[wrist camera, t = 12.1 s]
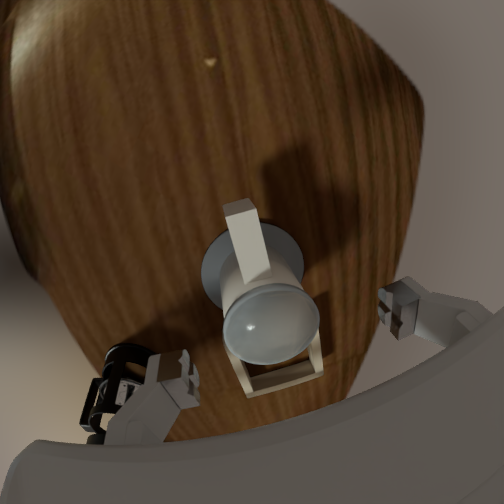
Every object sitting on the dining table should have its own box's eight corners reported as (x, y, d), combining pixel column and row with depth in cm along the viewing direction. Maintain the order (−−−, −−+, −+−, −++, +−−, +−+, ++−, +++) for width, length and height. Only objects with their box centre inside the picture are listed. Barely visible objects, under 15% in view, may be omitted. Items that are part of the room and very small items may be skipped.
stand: (317, 361, 41) (323, 374, 38) (244, 383, 40) (247, 398, 37) (309, 303, 36) (316, 316, 33) (221, 329, 35) (223, 344, 32)
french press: (158, 339, 34) (142, 504, 13) (178, 383, 38) (178, 523, 17) (86, 345, 33) (41, 483, 12) (112, 387, 37) (89, 511, 16)
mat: (308, 297, 35) (310, 300, 35) (219, 324, 35) (219, 326, 34) (292, 209, 30) (294, 210, 30) (187, 239, 30) (186, 241, 29)
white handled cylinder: (294, 295, 34) (323, 348, 25) (229, 314, 34) (238, 373, 25) (270, 182, 28) (302, 204, 19) (192, 204, 28) (185, 237, 19)
